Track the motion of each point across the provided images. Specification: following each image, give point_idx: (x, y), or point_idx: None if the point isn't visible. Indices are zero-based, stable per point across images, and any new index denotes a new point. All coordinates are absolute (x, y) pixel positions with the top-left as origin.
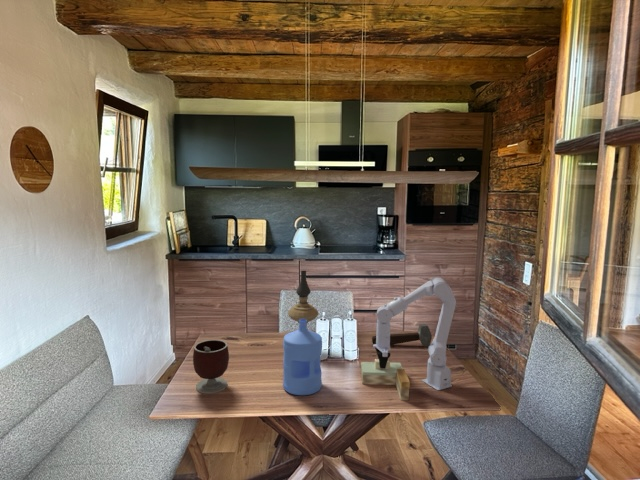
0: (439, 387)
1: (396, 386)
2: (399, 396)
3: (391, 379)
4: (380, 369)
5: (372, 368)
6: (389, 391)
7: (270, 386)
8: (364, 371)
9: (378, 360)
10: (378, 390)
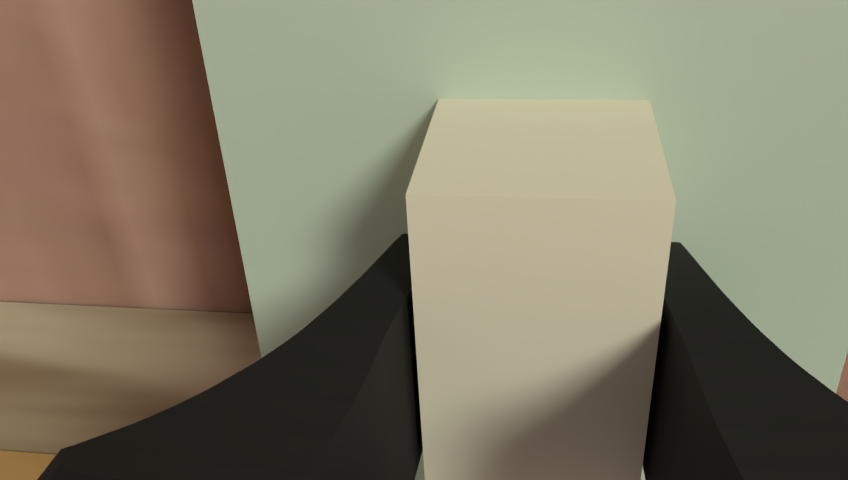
0: None
1: (246, 326)
2: (2, 304)
3: None
4: (404, 219)
5: (450, 16)
6: (114, 200)
7: None
8: None
9: (532, 298)
10: (91, 27)
